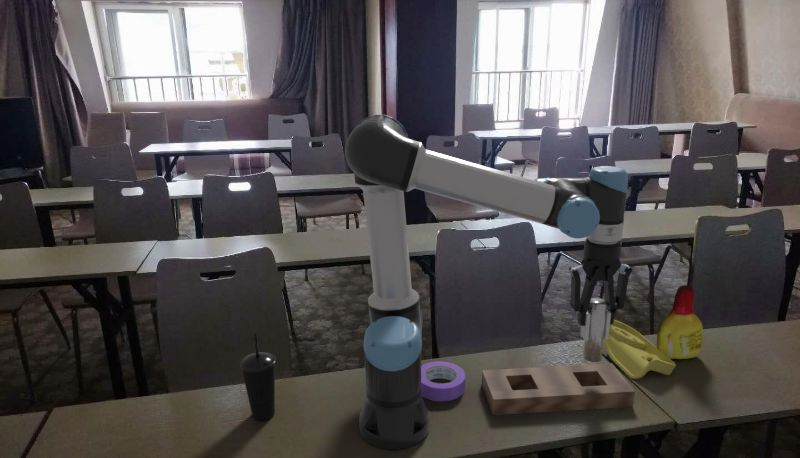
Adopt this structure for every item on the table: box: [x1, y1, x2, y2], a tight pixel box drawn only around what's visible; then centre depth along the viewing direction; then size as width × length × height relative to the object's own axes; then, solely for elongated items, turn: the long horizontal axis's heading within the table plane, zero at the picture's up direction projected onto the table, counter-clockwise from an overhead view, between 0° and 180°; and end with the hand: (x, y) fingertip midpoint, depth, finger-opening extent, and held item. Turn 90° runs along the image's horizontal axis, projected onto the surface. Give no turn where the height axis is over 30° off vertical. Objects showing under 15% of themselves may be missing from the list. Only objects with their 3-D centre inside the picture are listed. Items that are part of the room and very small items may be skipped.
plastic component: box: [603, 319, 677, 380], centre depth 148 cm, size 20×7×10 cm
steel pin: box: [582, 297, 607, 363], centre depth 129 cm, size 4×4×14 cm
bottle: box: [656, 284, 704, 360], centre depth 146 cm, size 12×6×20 cm, turn 95°
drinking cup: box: [239, 333, 277, 422], centre depth 125 cm, size 8×8×20 cm
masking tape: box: [421, 360, 466, 402], centre depth 137 cm, size 12×12×4 cm
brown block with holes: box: [481, 362, 636, 416], centre depth 132 cm, size 32×12×4 cm, turn 94°
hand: (594, 336), depth 129 cm, fingers closed on steel pin, 4 cm apart
